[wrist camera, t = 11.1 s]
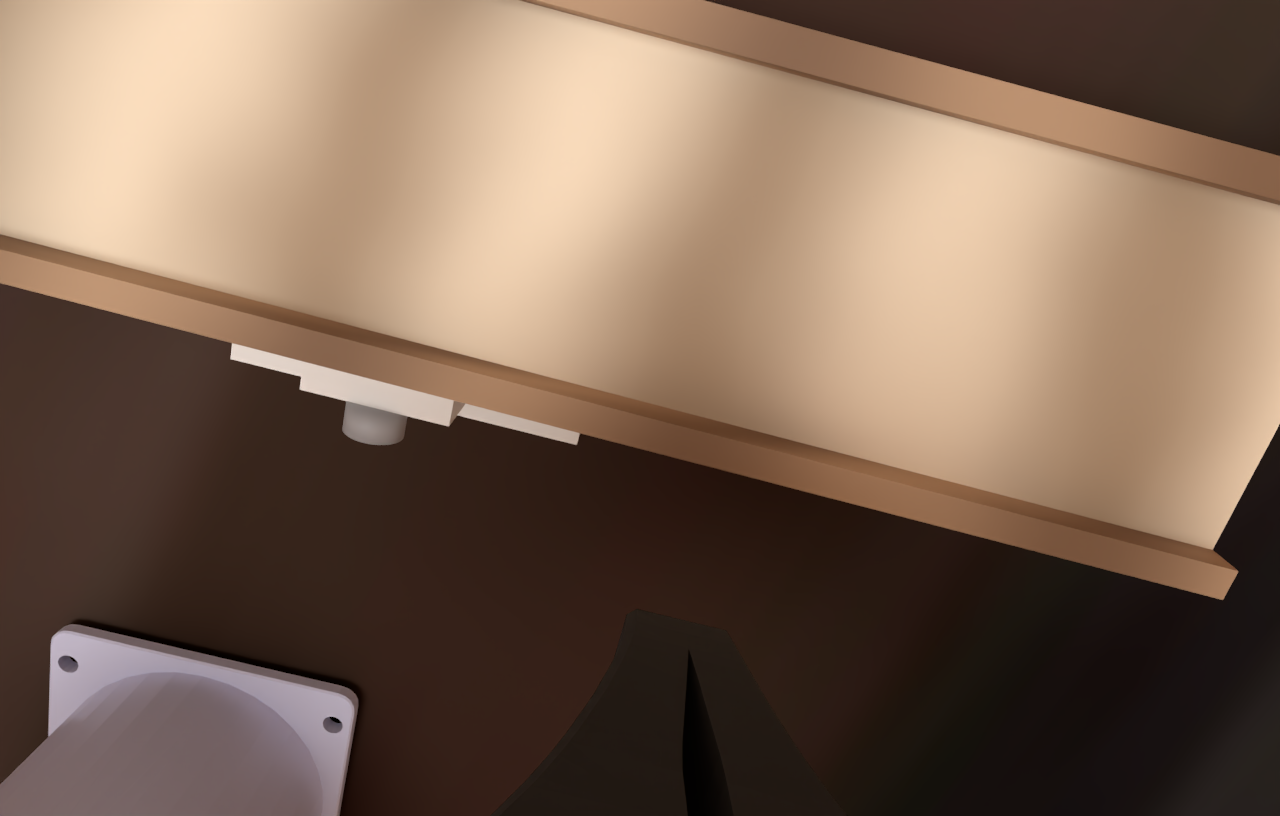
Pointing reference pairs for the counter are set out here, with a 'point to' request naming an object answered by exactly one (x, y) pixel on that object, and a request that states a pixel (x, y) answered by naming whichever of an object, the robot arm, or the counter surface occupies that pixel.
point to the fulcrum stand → (387, 402)
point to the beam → (679, 246)
